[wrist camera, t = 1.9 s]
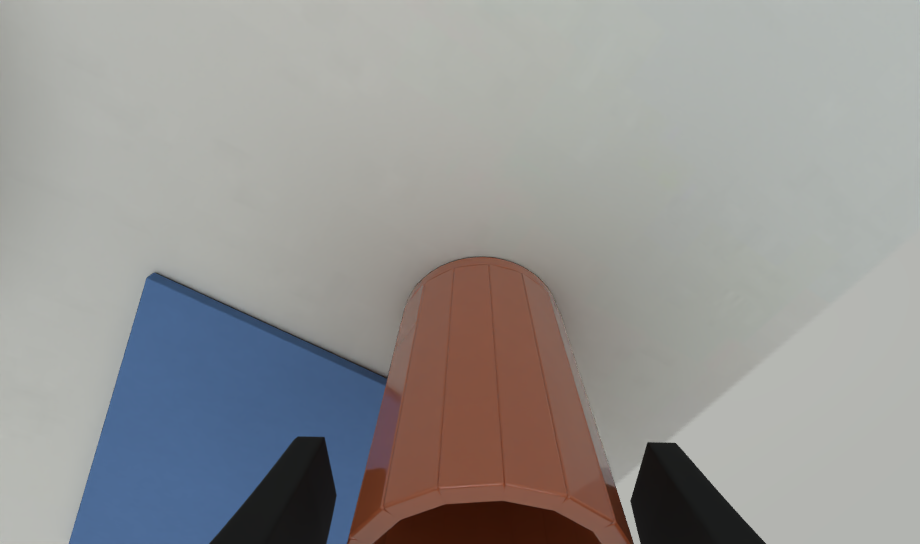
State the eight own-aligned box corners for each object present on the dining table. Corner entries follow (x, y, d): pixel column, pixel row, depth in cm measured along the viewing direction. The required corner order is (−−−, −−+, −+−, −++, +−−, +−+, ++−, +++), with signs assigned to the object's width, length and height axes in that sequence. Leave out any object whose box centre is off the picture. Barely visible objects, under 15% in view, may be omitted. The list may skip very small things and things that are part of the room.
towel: (154, 271, 14) (145, 277, 14) (489, 424, 17) (489, 432, 17) (72, 543, 22) (66, 551, 22) (316, 617, 25) (313, 626, 24)
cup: (582, 349, 15) (675, 611, 8) (452, 402, 17) (439, 668, 10) (515, 227, 13) (563, 443, 6) (372, 300, 15) (281, 543, 8)
